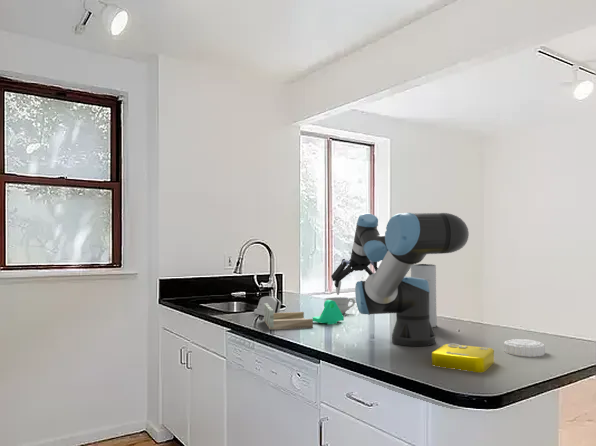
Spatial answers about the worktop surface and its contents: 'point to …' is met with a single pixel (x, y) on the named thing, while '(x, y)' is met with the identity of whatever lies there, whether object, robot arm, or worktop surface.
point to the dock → (285, 319)
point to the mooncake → (524, 347)
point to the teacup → (342, 303)
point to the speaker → (430, 275)
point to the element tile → (463, 357)
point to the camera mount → (330, 313)
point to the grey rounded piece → (270, 301)
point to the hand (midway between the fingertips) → (353, 292)
